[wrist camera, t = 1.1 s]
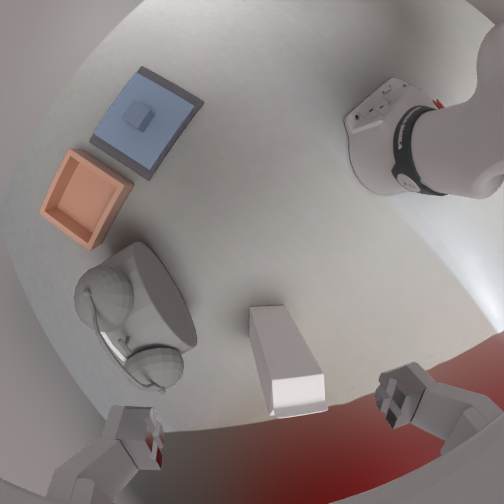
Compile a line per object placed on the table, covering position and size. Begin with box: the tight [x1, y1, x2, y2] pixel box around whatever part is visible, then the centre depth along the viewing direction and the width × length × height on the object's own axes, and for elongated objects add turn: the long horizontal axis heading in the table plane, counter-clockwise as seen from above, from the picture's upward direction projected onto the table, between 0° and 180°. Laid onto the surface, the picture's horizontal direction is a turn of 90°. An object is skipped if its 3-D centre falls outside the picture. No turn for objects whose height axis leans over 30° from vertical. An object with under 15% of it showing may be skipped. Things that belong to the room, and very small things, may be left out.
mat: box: [89, 66, 204, 181], centre depth 37 cm, size 14×12×1 cm
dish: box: [39, 148, 134, 251], centre depth 36 cm, size 11×11×5 cm
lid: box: [93, 73, 195, 170], centre depth 34 cm, size 11×11×5 cm
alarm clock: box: [74, 242, 197, 395], centre depth 33 cm, size 16×9×22 cm, turn 26°
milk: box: [249, 305, 328, 418], centre depth 37 cm, size 6×6×22 cm
